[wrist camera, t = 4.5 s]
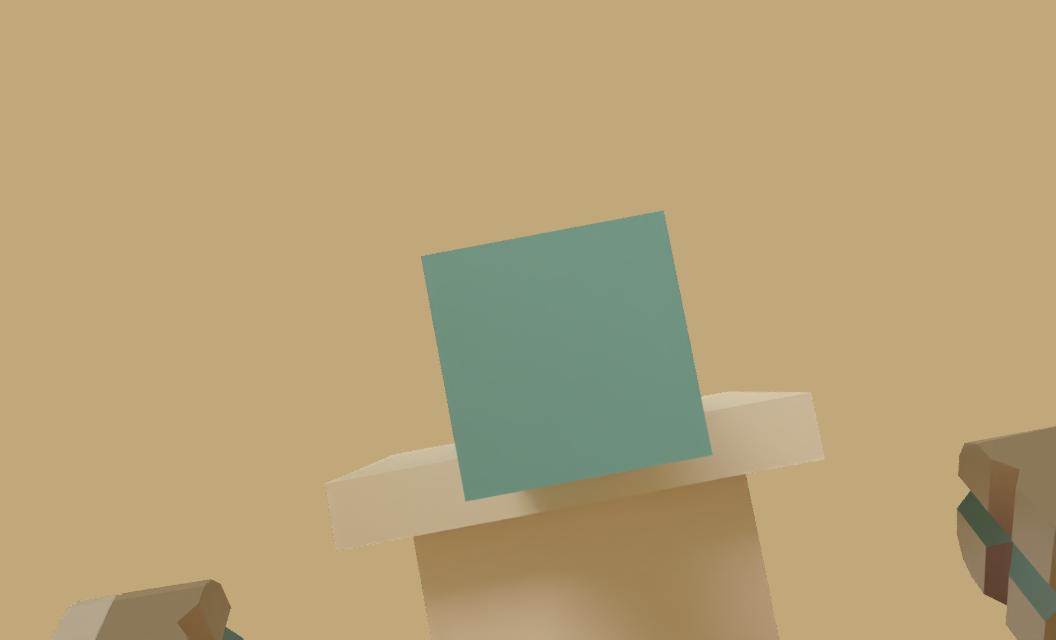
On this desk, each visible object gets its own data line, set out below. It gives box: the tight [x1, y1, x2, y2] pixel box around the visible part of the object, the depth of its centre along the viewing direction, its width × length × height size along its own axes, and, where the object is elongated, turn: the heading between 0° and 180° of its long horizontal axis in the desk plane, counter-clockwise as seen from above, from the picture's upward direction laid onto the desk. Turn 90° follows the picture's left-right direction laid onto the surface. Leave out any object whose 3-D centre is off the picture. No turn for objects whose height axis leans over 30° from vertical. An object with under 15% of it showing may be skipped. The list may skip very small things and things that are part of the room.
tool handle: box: [421, 211, 713, 502], centre depth 24 cm, size 25×3×3 cm, turn 179°
